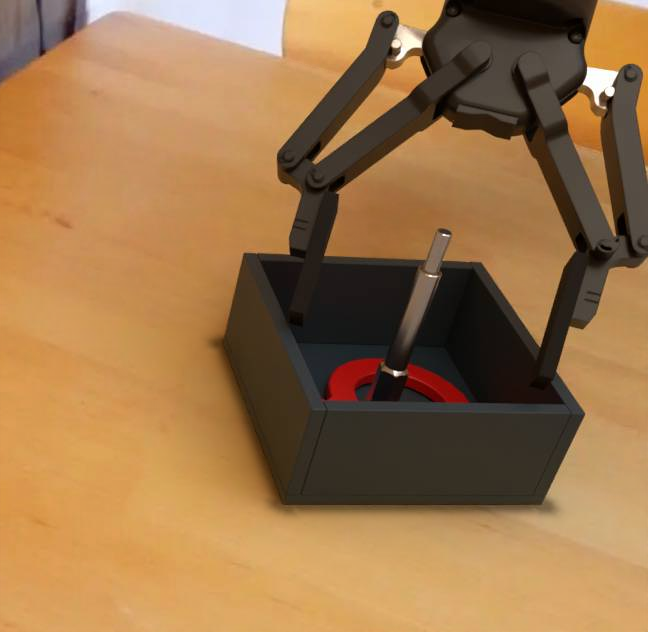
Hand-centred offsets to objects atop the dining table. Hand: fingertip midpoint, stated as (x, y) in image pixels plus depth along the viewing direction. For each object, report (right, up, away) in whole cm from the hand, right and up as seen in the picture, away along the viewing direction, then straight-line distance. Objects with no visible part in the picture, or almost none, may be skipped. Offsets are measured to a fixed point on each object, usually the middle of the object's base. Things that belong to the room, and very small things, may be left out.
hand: (416, 350), depth 65 cm
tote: (-1, -3, +6) cm, 7 cm away
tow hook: (0, -3, +6) cm, 7 cm away
